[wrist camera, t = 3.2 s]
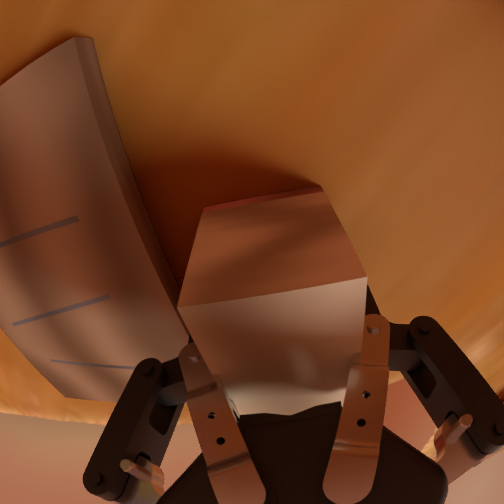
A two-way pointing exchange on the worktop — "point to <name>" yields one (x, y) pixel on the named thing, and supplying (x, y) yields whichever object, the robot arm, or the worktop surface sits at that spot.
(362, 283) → the block
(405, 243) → the worktop surface
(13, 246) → the board
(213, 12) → the worktop surface
